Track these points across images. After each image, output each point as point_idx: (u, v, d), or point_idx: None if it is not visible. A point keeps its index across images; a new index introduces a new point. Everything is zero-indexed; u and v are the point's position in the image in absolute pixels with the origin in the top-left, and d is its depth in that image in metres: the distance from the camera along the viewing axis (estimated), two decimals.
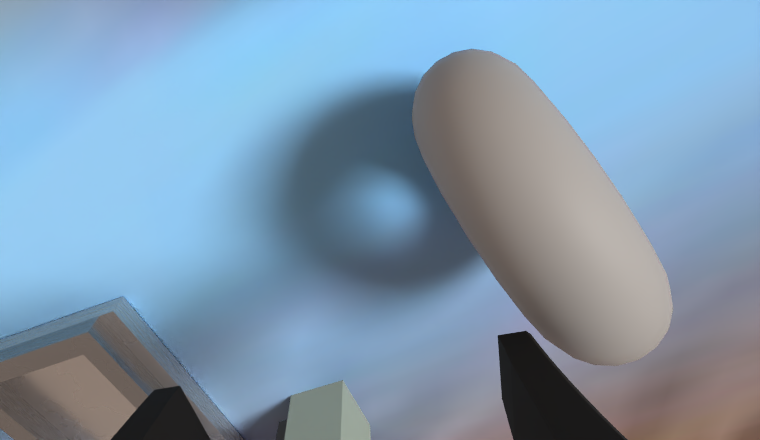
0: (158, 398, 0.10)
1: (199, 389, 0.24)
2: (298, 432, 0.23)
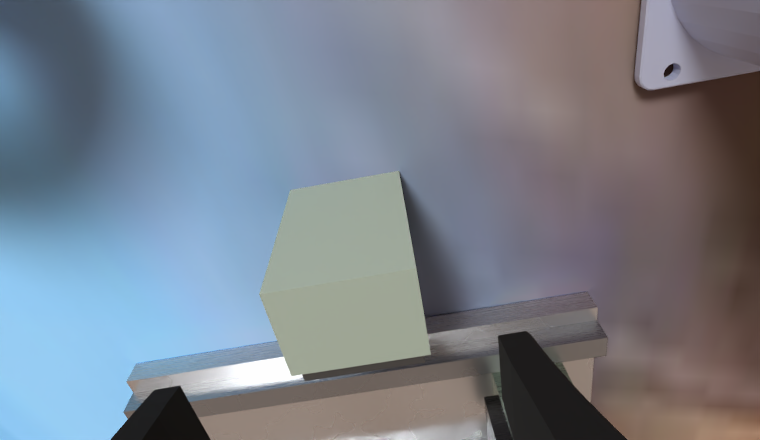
0: (159, 398, 0.10)
1: (277, 342, 0.20)
2: None
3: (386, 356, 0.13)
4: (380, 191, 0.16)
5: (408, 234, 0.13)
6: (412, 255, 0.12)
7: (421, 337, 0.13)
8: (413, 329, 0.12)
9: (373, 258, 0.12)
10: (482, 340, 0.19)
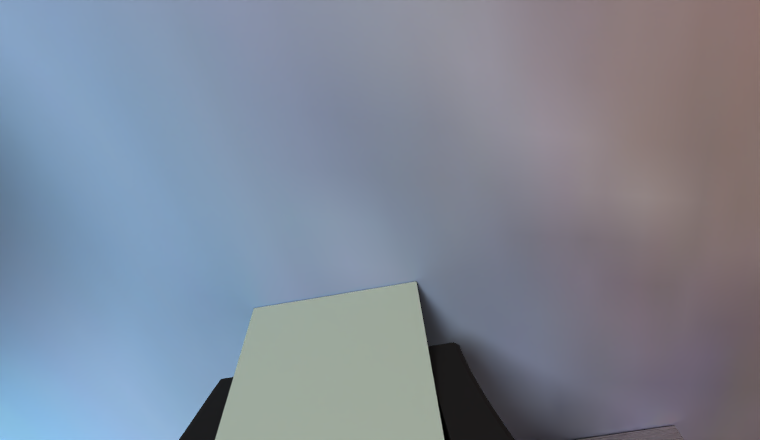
0: (228, 387, 0.10)
1: None
2: None
3: None
4: (389, 327, 0.10)
5: None
6: None
7: None
8: None
9: None
10: None
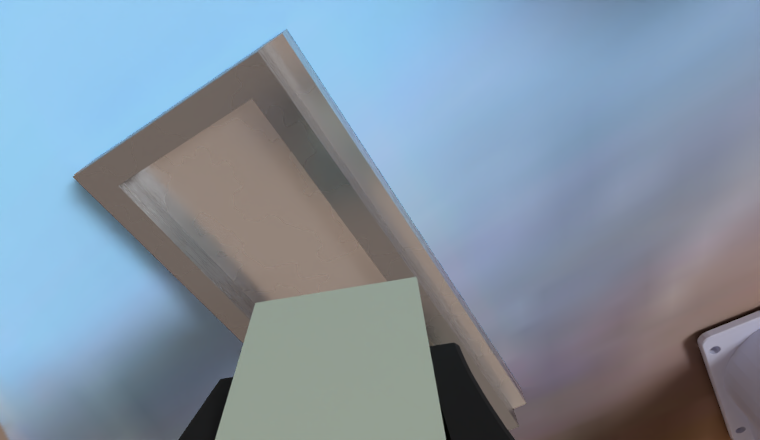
0: (228, 387, 0.10)
1: (388, 185, 0.18)
2: None
3: None
4: (390, 321, 0.10)
5: None
6: None
7: None
8: None
9: None
10: (473, 351, 0.21)
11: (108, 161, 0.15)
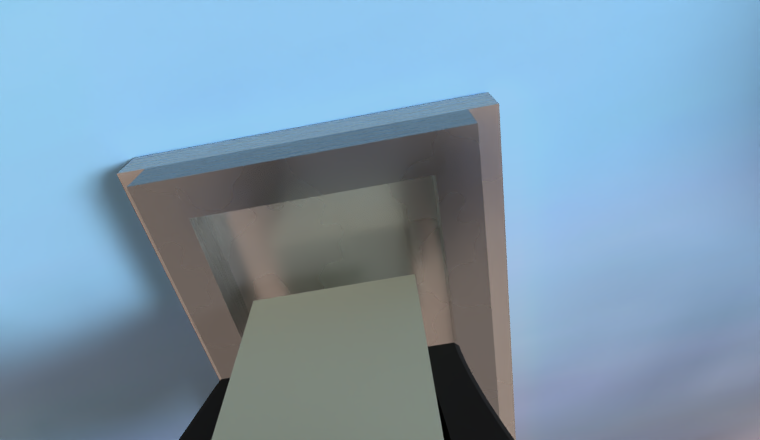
0: None
1: None
2: None
3: None
4: (388, 318, 0.10)
5: (440, 438, 0.07)
6: None
7: None
8: None
9: None
10: None
11: (192, 184, 0.10)
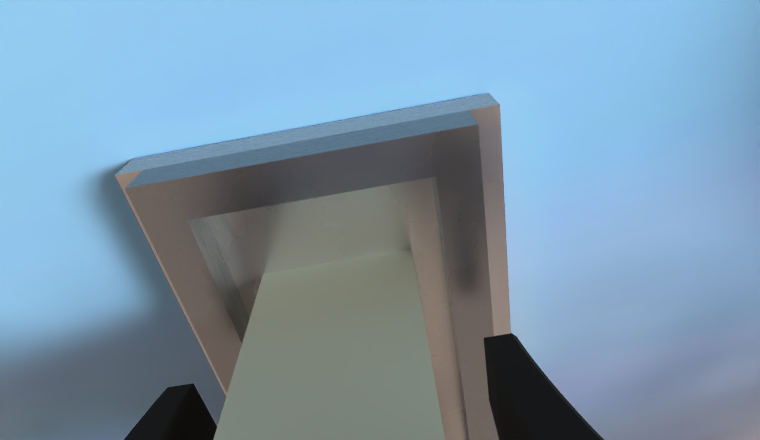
0: (172, 396, 0.10)
1: None
2: None
3: None
4: (387, 286, 0.11)
5: (432, 381, 0.08)
6: (441, 433, 0.08)
7: None
8: None
9: (378, 432, 0.08)
10: None
11: (191, 186, 0.10)
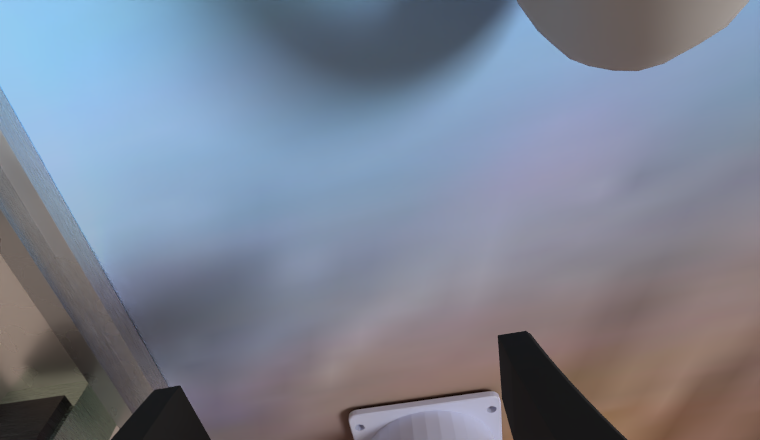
0: (159, 398, 0.10)
1: (56, 192, 0.18)
2: None
3: None
4: None
5: None
6: None
7: None
8: None
9: None
10: (124, 372, 0.21)
11: None
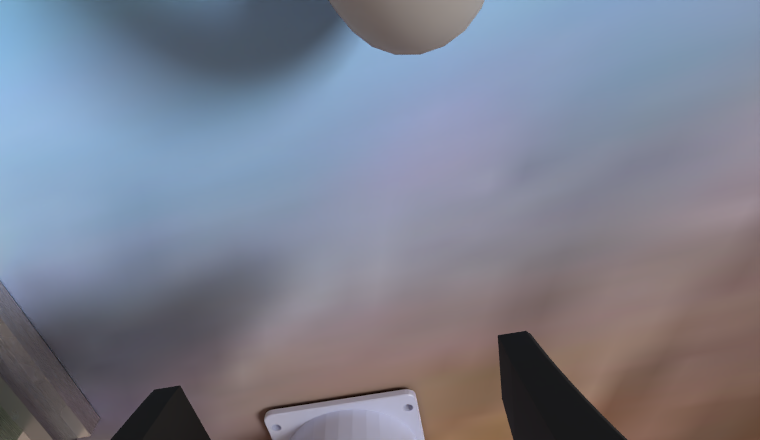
0: (158, 398, 0.10)
1: None
2: None
3: None
4: None
5: None
6: None
7: None
8: None
9: None
10: (24, 374, 0.21)
11: None
